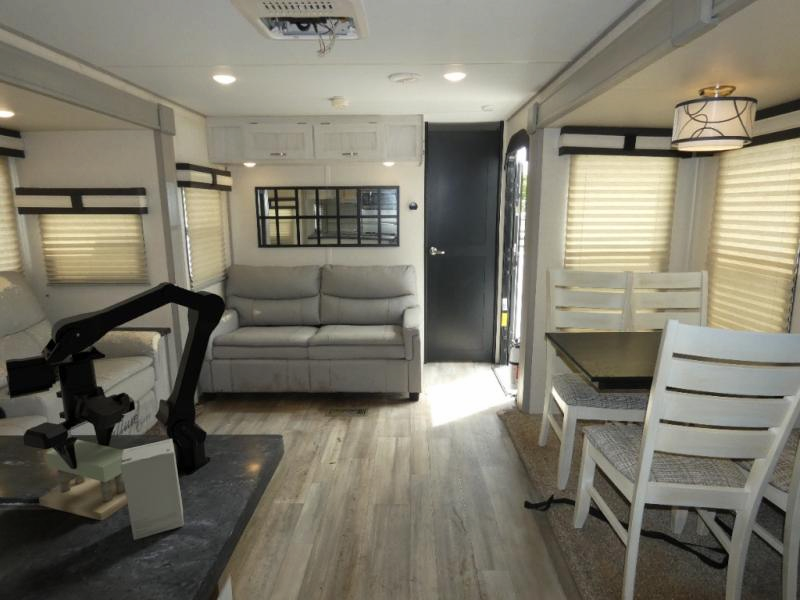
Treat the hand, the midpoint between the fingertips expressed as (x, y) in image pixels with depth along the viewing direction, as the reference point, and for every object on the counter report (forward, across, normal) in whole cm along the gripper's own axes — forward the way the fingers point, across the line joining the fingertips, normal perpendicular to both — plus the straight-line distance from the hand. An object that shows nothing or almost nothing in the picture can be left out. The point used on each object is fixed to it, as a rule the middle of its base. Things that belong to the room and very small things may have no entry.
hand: (89, 460), depth 93 cm
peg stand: (+8, 0, 0) cm, 8 cm away
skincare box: (+8, -3, -19) cm, 21 cm away
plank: (+1, 0, 0) cm, 1 cm away
